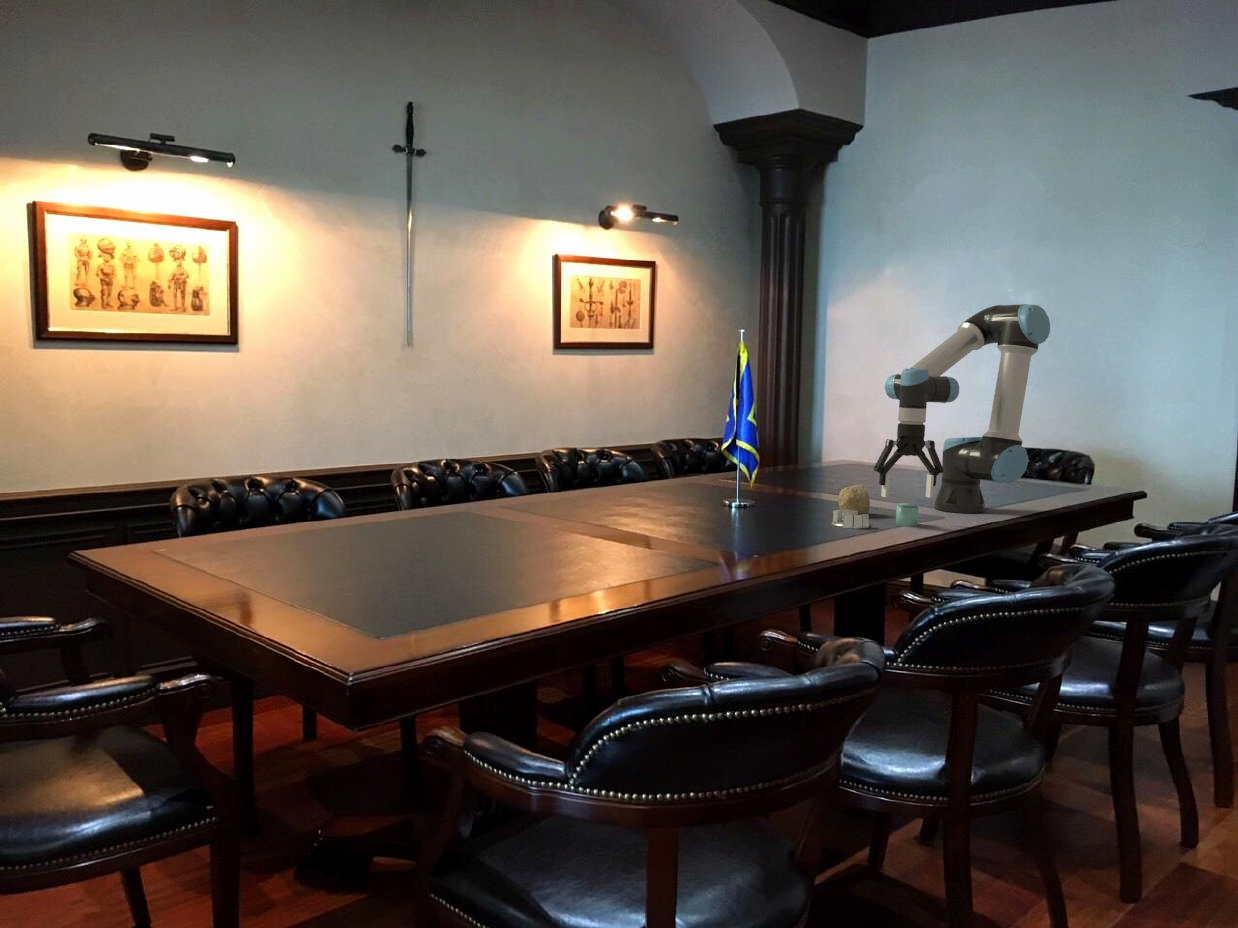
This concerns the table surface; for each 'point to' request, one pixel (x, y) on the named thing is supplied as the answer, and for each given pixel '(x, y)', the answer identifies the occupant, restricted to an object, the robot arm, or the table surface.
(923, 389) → the robot arm
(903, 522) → the teal rounded cylinder
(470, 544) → the table surface
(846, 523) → the grey ring-shaped piece
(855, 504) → the coral
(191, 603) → the table surface
